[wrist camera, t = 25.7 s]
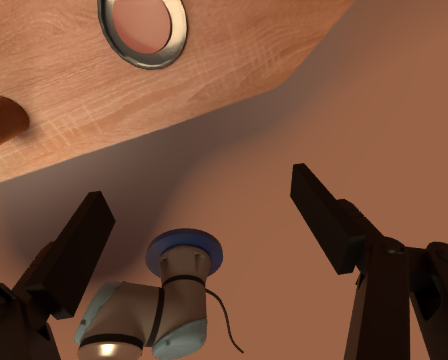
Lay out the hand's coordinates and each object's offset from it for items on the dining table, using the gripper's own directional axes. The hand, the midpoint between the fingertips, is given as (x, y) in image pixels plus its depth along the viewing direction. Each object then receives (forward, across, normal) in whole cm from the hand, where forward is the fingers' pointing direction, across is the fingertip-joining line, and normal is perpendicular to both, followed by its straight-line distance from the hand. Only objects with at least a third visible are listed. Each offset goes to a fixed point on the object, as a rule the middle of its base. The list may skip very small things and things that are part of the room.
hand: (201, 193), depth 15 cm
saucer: (+28, -6, +12) cm, 31 cm away
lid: (+26, -6, +12) cm, 29 cm away
